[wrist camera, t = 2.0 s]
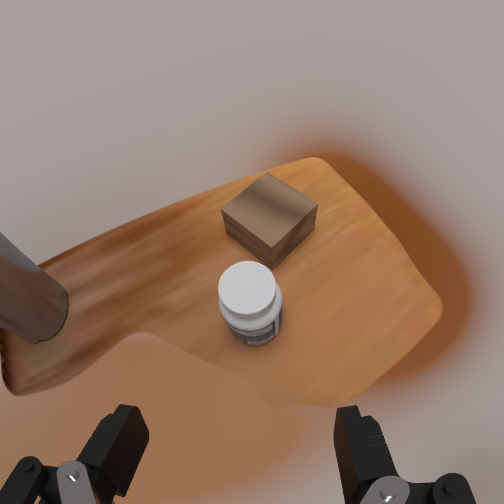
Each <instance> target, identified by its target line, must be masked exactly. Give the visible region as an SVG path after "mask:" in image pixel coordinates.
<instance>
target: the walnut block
mask: <svg viewBox="0 0 504 504" xmlns="http://www.w3.org/2000/svg"><path fill="white" fill-rule="evenodd" d="M317 207H318V204H317V203H316V202H314V201H313V200H311V199H310V198H308V197H306V196H305V195H303V194H302V193H300V192H299V191H297V190H295V189H294V188H292V187H291V186H289V185H287V184H286V183H284V182H283V181H281V180H279V179H278V178H276V177H274V176H273V175H271V174H269V173H268V172H267V173H265V174H264V175H263V176H262V177H260V178H259V179H258V180H256V181H255V182H254V183H253V184H251V185H250V186H249V187H247V188H246V189H245V190H244V191H242V192H241V193H240V194H239V195H237V196H236V197H235V198H234V199H232V200H231V201H230V202H229V203H227V204H226V205H225V206H224V207H222V208H221V212H222V216H223V220H224V224H225V228H226V232H227V234H229V235H230V236H231V237H232V238H234V239H235V240H236V241H237V242H239V243H240V244H241V245H242V246H244V247H245V248H246V249H247V250H249V251H250V252H251V253H252V254H253V255H255V256H256V257H257V258H258V259H260V260H261V261H262V262H263V263H265V264H266V265H267V266H268V267H270V268H271V269H272V270H273V269H274V268H275V267H276V266H277V265H278V264H279V263H280V262H281V261H282V260H283V259H284V258H285V257H286V256H287V255H288V254H289V253H290V252H291V251H292V250H293V249H294V248H295V247H296V246H297V245H298V244H299V243H300V242H301V241H302V240H303V239H304V238H305V237H306V236H307V235H308V234H309V233H310V232H311V231H312V230H313V229H314V225H315V219H316V213H317Z"/></svg>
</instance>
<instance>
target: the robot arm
mask: <svg viewBox="0 0 504 504" xmlns="http://www.w3.org/2000/svg"><path fill="white" fill-rule="evenodd" d="M67 310H68V298H67V294H66V291H65V289H64V288H63V287H62V286H61V285H60V284H59V283H58V282H57V281H55V280H54V279H53V278H52V277H50V276H49V275H48V274H47V273H45V272H44V271H43V270H42V269H41V268H39V267H38V266H37V265H36V264H35V263H33V262H32V261H31V260H30V259H29V258H28V257H27V256H25V255H24V254H23V253H22V252H21V251H20V250H19V249H18V248H17V247H15V246H14V245H13V244H12V243H11V242H10V241H9V240H8V239H7V238H6V237H5V236H4V235H3V234H2V233H1V232H0V327H2V328H4V329H5V330H7V331H9V332H11V333H13V334H15V335H17V336H19V337H21V338H23V339H25V340H27V341H30V342H32V343H34V344H36V343H37V342H38V341H39V340H47V339H50V338H51V337H53V336H54V335H55V334H56V333H57V332H58V331H59V330H60V328H61V327H62V325H63V323H64V321H65V318H66V315H67ZM148 441H149V431H148V428H147V426H146V424H145V421H144V419H143V417H142V415H141V412H140V410H139V408H138V407H136V406H129V405H123V404H120V405H119V406H118V407H117V409H116V410H115V412H114V414H109V415H107V416H106V417H105V418H103V419H102V420H101V421H100V423H99V425H98V426H97V428H96V430H95V431H94V432H93V434H92V437H90V439H89V440H88V442H87V444H86V445H85V447H84V448H83V450H82V452H81V454H80V455H79V457H78V458H77V459H76V461H67V462H65V463H63V464H62V465H61V466H60V467H52V466H44V465H43V464H42V463H41V462H40V461H39V459H37V458H36V457H33V456H28V457H24V458H22V459H21V460H20V461H19V462H18V464H17V465H16V467H15V468H14V470H13V471H12V473H11V474H10V476H9V478H8V479H7V481H6V482H5V484H4V486H3V487H2V489H1V491H0V504H34V502H35V500H36V498H37V497H38V496H39V497H41V499H40V501H39V503H38V504H115V503H114V501H113V498H114V496H115V495H118V496H121V497H125V495H126V493H127V490H128V488H129V486H130V483H131V481H132V479H133V476H134V474H135V472H136V469H137V467H138V464H139V462H140V460H141V458H142V455H143V453H144V451H145V448H146V446H147V444H148ZM334 446H335V451H336V457H337V462H338V467H339V472H340V477H341V483H342V488H343V494H344V499H345V504H476V502H475V499H474V496H473V494H472V492H471V489H470V486H469V484H468V482H467V480H466V478H465V477H463V476H462V475H460V474H457V473H448V474H445V475H443V476H441V477H440V478H439V479H437V481H436V482H431V483H410V482H407V481H405V480H404V479H402V478H401V477H400V476H399V475H398V474H397V471H396V469H395V466H394V463H393V461H392V458H391V455H390V452H389V449H388V447H387V444H386V443H385V439H384V436H383V435H382V431H381V428H380V426H379V423H378V422H377V421H375V419H373V418H372V417H371V416H370V415H369V416H364V417H361V415H360V412H359V409H358V407H357V405H354V406H347V407H340V408H337V413H336V420H335V427H334Z"/></svg>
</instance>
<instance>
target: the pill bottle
mask: <svg viewBox="0 0 504 504" xmlns="http://www.w3.org/2000/svg"><path fill="white" fill-rule="evenodd" d="M218 293H219V307H220V311H221V313H222V316H223V317H224V319H225V321H226V322H227V324H228V326H229V328H230V329H231V331H232V333H233V335H234V336H235V337H236V338H237V339H238V340H239V341H241V342H242V343H245V344H247V345H253V346H258V345H263V344H266V343H268V342H270V341H271V340H272V339H273V338H274V337H275V336H276V335H277V334H278V332H279V330H280V327H281V323H282V302H283V301H282V293H281V290H280V287H279V286H278V284H277V283H276V281H275V278H274V276H273V274H272V272H271V271H270V270H269V269H268V268H267V267H266V266H264V265H262V264H260V263H258V262H254V261H243V262H239V263H236V264H234V265H232V266H230V267H229V268H228V269H227V270H226V271H225V272H224V273H223V275H222V276H221V278H220V281H219V285H218Z"/></svg>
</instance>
